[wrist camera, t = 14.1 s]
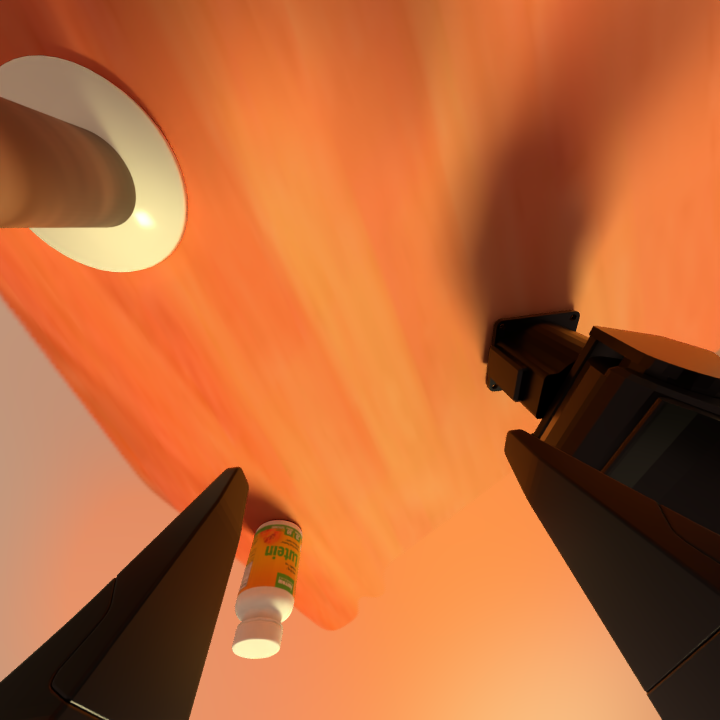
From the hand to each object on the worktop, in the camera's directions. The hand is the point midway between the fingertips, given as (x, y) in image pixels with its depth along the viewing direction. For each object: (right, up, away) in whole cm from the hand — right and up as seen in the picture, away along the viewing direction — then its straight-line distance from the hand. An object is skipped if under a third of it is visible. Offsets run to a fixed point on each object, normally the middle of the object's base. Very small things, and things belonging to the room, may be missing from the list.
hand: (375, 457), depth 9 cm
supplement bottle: (-10, -17, +23) cm, 30 cm away
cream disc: (-16, +14, +7) cm, 22 cm away
